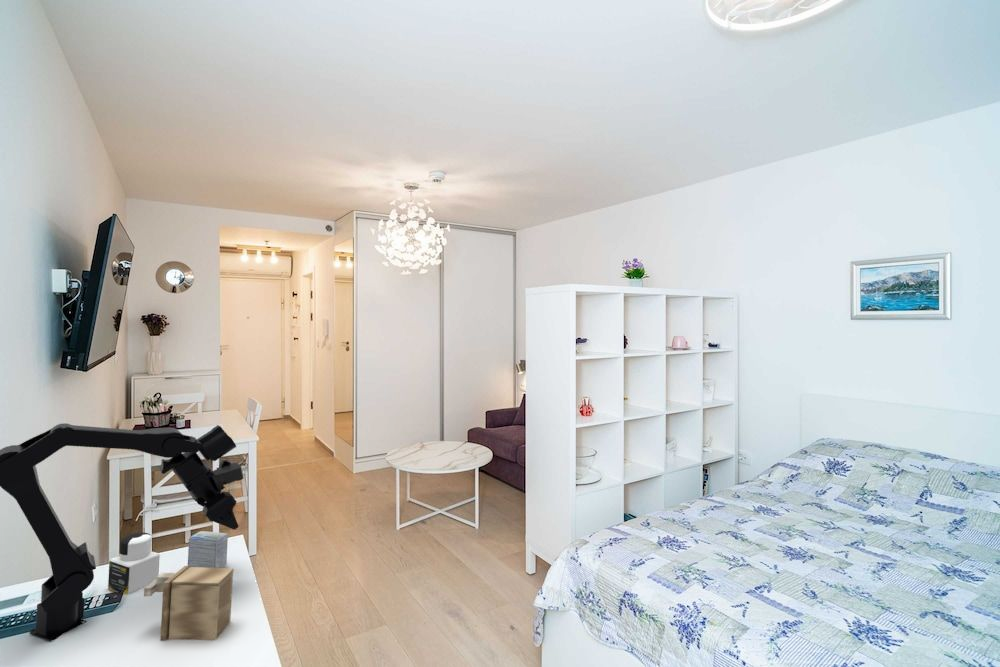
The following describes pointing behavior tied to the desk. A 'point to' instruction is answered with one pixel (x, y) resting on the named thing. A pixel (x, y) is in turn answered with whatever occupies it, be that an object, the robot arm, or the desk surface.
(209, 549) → the medicine box
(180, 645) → the desk surface
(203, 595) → the carton
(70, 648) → the desk surface
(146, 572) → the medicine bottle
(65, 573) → the robot arm
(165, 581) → the flap
